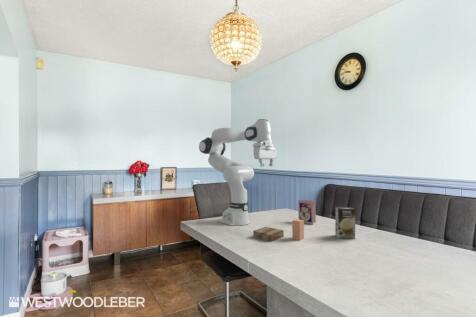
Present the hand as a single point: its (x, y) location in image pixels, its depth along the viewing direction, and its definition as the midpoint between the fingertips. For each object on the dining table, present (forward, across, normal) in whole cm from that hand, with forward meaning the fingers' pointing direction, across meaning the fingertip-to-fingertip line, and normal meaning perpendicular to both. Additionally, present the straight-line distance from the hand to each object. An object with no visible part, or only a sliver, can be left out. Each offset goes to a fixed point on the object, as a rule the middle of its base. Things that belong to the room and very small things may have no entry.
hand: (266, 166), depth 165 cm
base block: (+40, +14, +7) cm, 43 cm away
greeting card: (+40, -31, +8) cm, 51 cm away
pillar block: (+41, +6, +21) cm, 47 cm away
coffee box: (+43, -14, +39) cm, 60 cm away
